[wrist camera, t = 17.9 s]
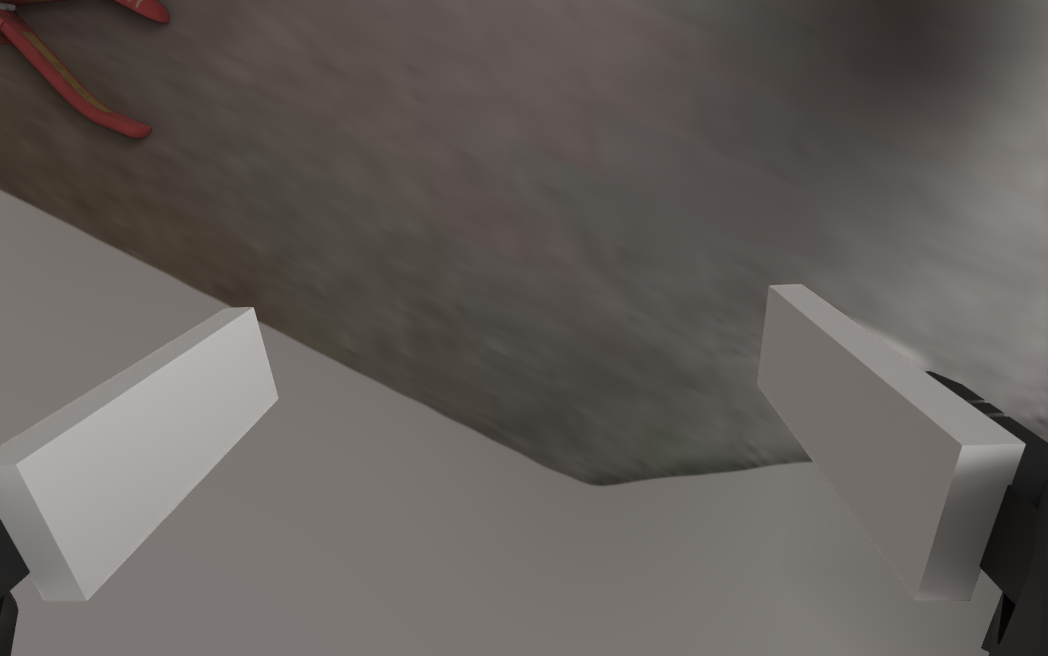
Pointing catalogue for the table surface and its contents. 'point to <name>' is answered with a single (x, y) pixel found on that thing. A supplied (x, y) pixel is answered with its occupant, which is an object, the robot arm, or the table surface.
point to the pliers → (11, 28)
